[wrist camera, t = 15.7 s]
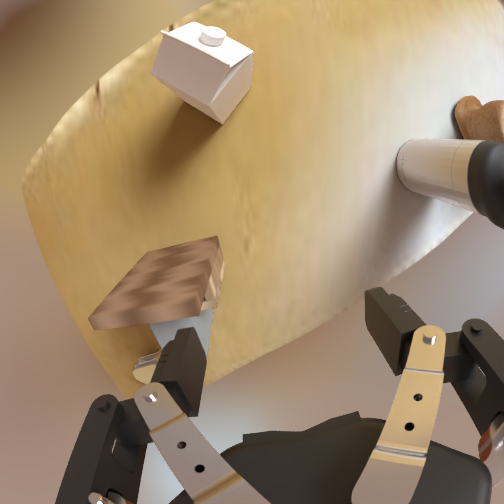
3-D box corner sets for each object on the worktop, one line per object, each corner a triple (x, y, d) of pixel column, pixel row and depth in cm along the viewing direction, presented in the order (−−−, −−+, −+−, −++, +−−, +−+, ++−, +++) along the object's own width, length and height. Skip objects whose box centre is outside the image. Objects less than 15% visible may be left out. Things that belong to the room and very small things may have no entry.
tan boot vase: (439, 110, 35) (497, 104, 20) (470, 91, 32) (523, 85, 18) (468, 182, 39) (523, 198, 25) (496, 157, 37) (546, 167, 23)
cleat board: (217, 235, 42) (193, 301, 23) (225, 264, 43) (210, 345, 25) (147, 252, 43) (88, 318, 24) (156, 279, 44) (108, 355, 25)
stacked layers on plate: (154, 332, 48) (146, 350, 43) (188, 360, 51) (184, 379, 46) (128, 354, 50) (119, 371, 45) (160, 380, 53) (154, 397, 48)
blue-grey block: (195, 261, 39) (182, 299, 30) (215, 316, 43) (209, 360, 33) (161, 269, 39) (140, 307, 30) (183, 321, 43) (171, 365, 34)
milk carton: (222, 125, 36) (201, 97, 18) (183, 101, 35) (135, 62, 17) (251, 87, 34) (255, 34, 17) (212, 64, 33) (186, 2, 15)
